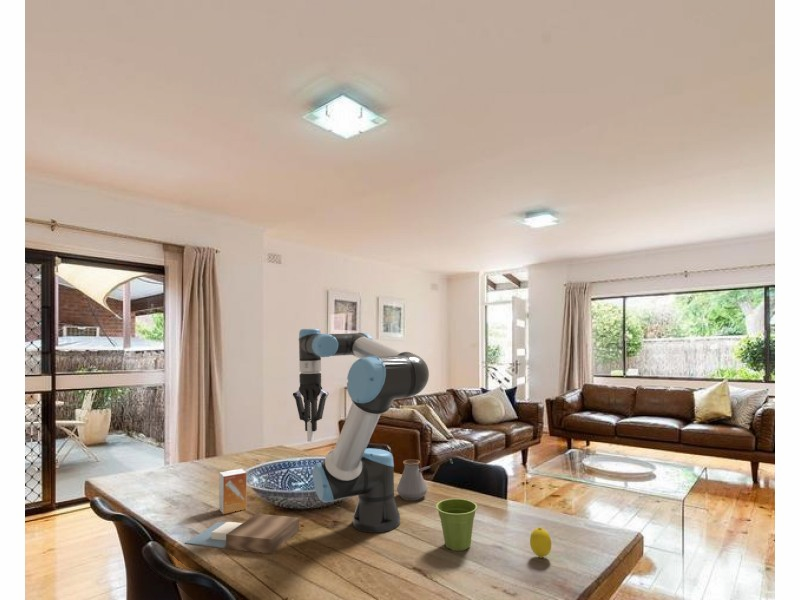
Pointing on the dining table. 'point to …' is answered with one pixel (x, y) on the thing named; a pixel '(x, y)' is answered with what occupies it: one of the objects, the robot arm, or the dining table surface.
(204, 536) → the mat
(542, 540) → the lemon
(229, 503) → the small box
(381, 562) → the dining table surface
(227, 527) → the ceramic tile
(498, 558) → the dining table surface
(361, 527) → the robot arm
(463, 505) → the plant pot
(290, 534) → the riser board
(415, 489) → the coffee pot
